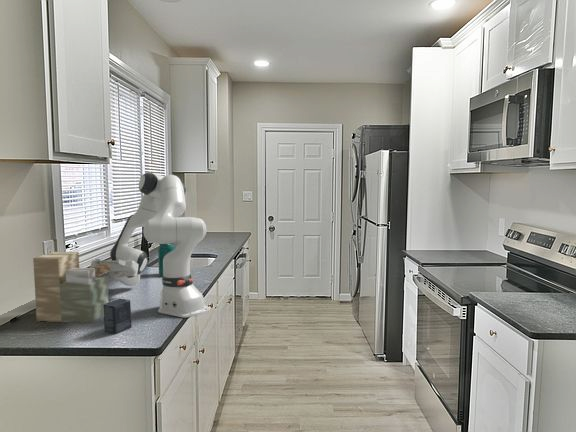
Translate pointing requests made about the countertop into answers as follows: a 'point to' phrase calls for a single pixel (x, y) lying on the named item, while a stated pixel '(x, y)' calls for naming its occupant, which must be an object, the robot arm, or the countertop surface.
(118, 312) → the box
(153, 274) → the countertop surface
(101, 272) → the mallet
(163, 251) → the pitcher
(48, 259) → the riser
